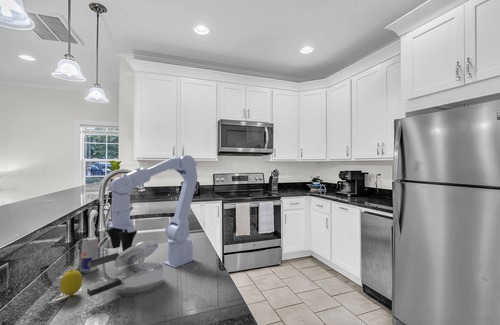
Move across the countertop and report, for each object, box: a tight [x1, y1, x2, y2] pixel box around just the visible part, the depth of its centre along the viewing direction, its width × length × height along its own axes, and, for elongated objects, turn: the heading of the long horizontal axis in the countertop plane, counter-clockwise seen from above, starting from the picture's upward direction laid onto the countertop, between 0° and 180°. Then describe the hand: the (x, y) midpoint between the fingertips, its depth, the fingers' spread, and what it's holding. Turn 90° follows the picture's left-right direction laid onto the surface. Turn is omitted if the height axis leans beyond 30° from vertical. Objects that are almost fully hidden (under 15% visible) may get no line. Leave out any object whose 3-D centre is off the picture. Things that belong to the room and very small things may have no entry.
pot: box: [86, 261, 164, 298], centre depth 76 cm, size 22×14×5 cm, turn 143°
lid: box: [88, 239, 159, 268], centre depth 78 cm, size 21×14×2 cm
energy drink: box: [80, 236, 99, 274], centre depth 92 cm, size 5×5×12 cm
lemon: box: [59, 269, 83, 297], centre depth 73 cm, size 6×6×8 cm
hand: (121, 249), depth 85 cm, fingers open, 7 cm apart
